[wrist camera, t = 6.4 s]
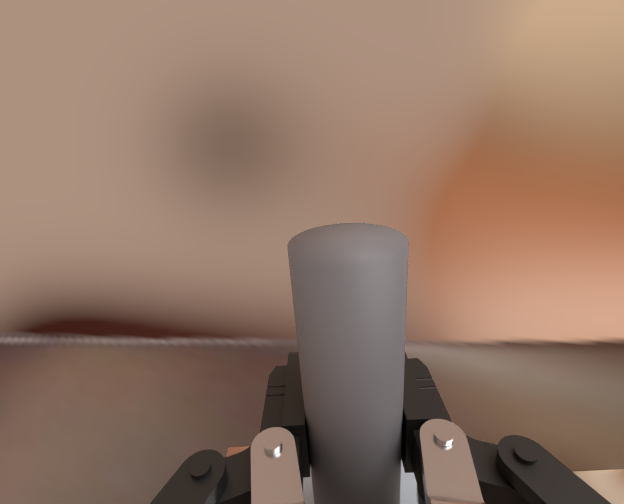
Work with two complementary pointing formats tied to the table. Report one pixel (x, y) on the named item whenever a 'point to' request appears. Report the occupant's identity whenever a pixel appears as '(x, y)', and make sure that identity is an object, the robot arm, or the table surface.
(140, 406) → the table surface
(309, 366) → the carriage
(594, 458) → the table surface
